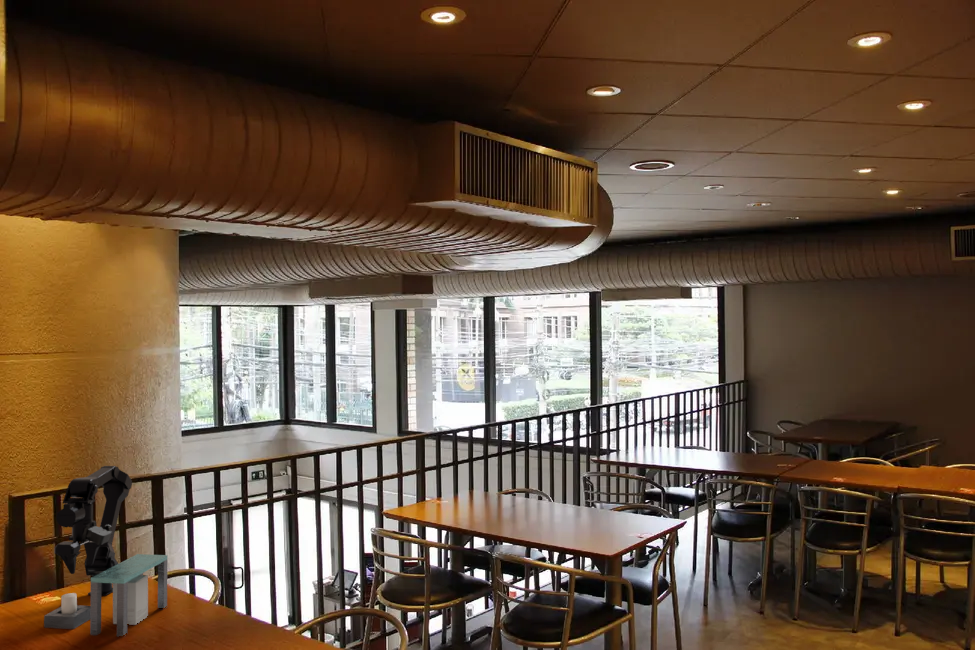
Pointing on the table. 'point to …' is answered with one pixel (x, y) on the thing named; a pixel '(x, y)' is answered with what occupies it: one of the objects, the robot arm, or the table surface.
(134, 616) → the supplement box
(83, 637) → the table surface
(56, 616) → the socket
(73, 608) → the peg
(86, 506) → the robot arm
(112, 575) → the miniature teal stool
